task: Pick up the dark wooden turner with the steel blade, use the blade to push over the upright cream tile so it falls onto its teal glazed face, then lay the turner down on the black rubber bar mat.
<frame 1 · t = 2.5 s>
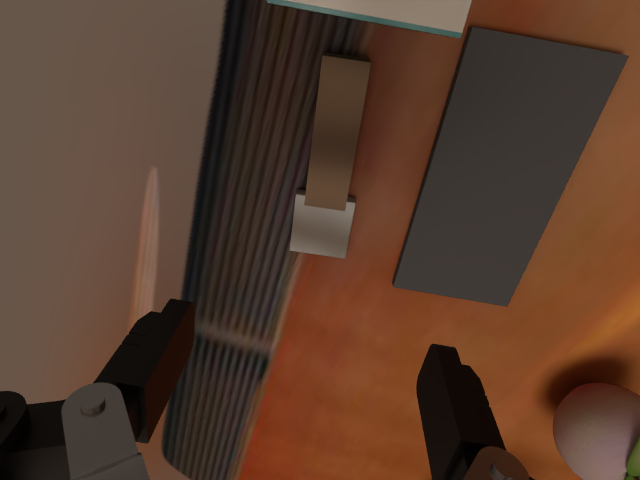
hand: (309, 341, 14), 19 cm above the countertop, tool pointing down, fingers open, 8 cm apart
decorative fruit: (576, 389, 40), on the countertop
bar mat: (489, 185, 31), on the countertop
tile: (361, 6, 26), on the countertop
turner: (335, 129, 30), on the countertop
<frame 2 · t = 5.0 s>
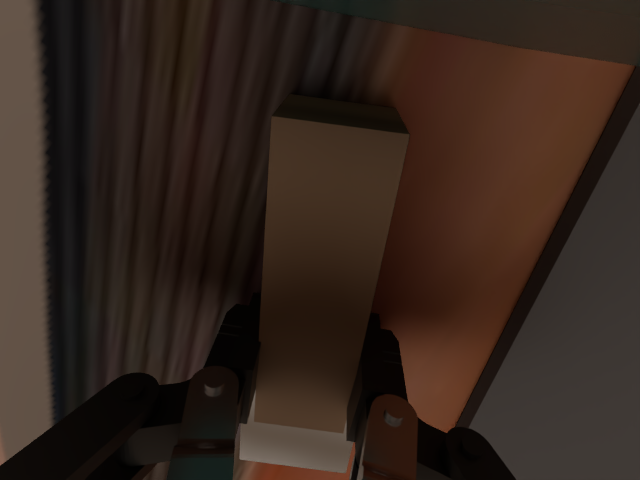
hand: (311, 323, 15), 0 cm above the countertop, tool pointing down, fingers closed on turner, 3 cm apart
bar mat: (632, 358, 15), on the countertop
turner: (321, 253, 14), on the countertop, touching gripper
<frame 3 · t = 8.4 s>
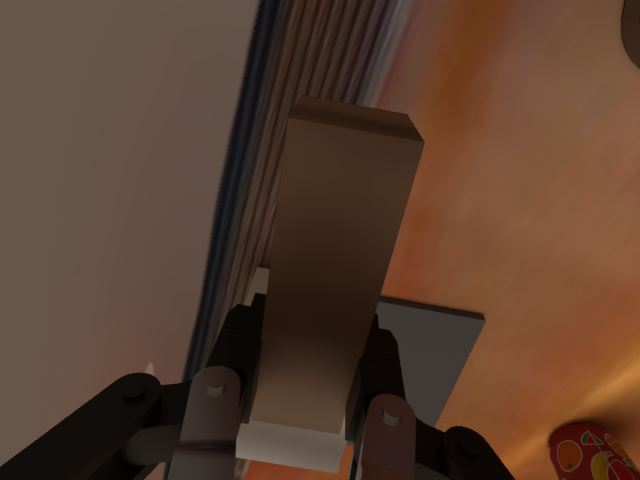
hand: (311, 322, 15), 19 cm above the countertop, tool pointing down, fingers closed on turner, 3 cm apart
bar mat: (400, 382, 42), on the countertop
tile: (300, 282, 37), on the countertop
smoothie: (575, 437, 45), on the countertop
turner: (324, 255, 14), point 18 cm above the countertop, touching gripper
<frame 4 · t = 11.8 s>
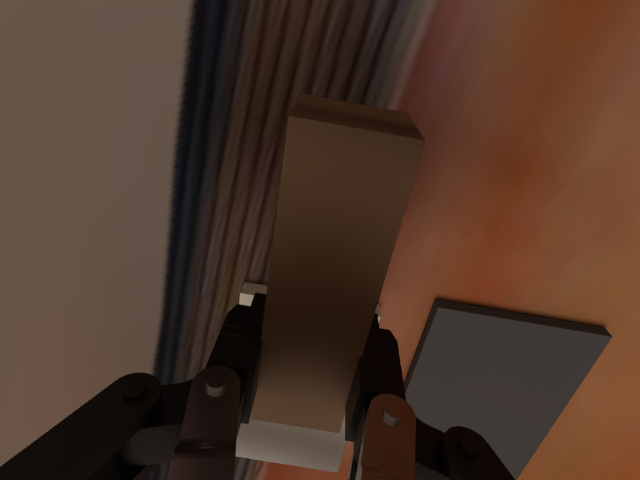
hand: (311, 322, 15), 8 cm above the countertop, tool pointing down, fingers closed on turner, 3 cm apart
bar mat: (463, 424, 28), on the countertop
tile: (311, 296, 23), on the countertop, tilted 90°
turner: (325, 254, 14), point 7 cm above the countertop, touching gripper
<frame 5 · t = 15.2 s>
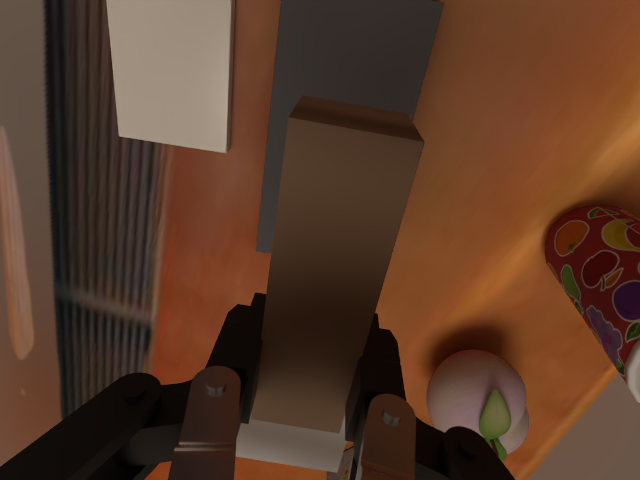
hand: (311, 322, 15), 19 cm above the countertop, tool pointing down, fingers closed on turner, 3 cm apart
decorative fruit: (460, 359, 40), on the countertop
bar mat: (335, 143, 30), on the countertop
smoothie: (581, 236, 33), on the countertop
turner: (325, 254, 14), point 18 cm above the countertop, touching gripper
coffee box: (372, 456, 48), on the countertop
when the fingers open (3 cm above the countertop, at t = 18.4 s): turner drops 1 cm, resting on bar mat.
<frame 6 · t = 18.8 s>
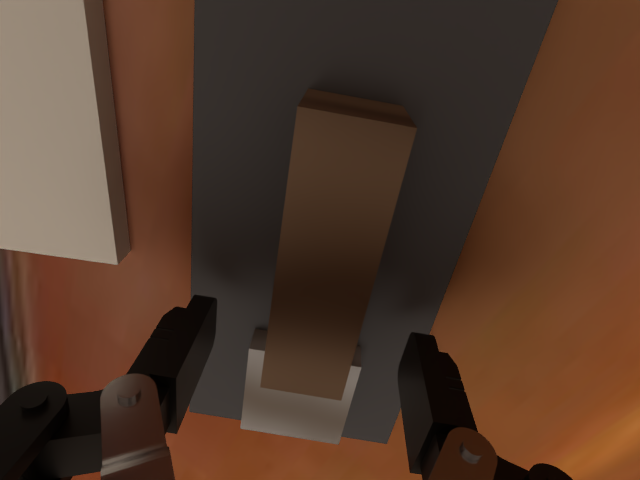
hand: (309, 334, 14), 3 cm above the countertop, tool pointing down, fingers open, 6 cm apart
bar mat: (322, 249, 16), on the countertop
turner: (328, 236, 15), point 1 cm above the countertop, touching bar mat
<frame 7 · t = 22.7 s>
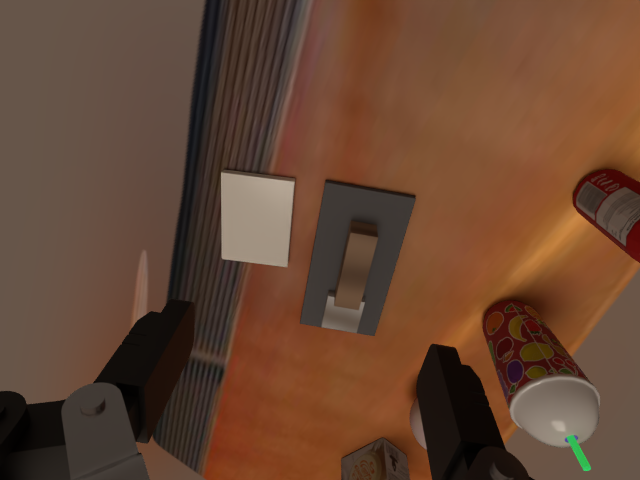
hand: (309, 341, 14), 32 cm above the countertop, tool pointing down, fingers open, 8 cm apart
decorative fruit: (433, 390, 59), on the countertop
bar mat: (352, 263, 50), on the countertop
tile: (259, 174, 45), on the countertop, tilted 90°
smoothie: (506, 316, 52), on the countertop
turner: (354, 259, 48), point 1 cm above the countertop, touching bar mat
soda can: (597, 191, 44), on the countertop
coffee box: (373, 455, 67), on the countertop
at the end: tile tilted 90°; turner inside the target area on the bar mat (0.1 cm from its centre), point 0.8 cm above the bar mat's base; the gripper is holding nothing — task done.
